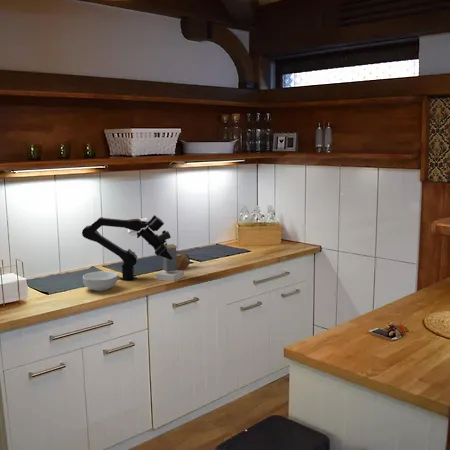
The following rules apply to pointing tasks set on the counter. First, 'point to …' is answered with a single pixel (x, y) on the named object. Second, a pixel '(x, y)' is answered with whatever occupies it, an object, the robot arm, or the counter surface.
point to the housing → (170, 264)
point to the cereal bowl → (100, 280)
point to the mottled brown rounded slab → (182, 261)
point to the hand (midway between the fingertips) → (172, 257)
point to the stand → (169, 275)
